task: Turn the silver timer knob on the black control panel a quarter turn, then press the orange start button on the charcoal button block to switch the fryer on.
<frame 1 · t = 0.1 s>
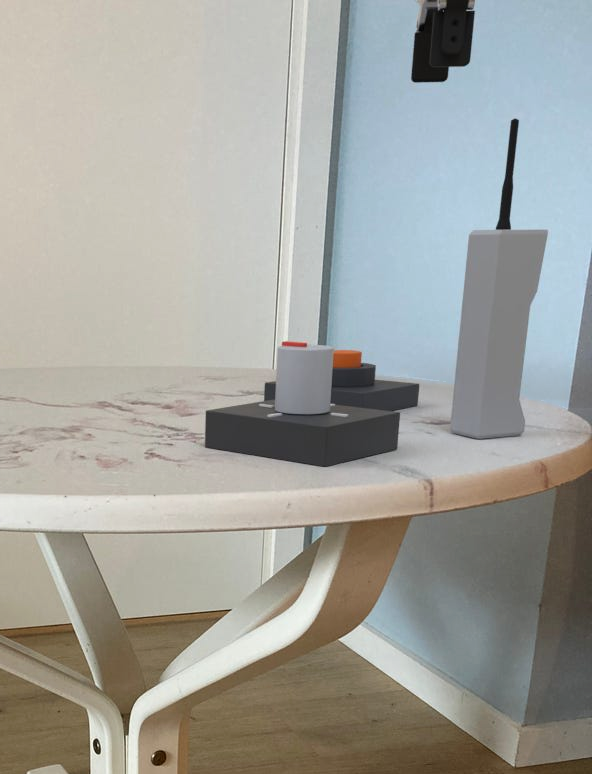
hand: (438, 74, 96), 29 cm above the table, tool pointing down, fingers open, 9 cm apart
start button: (343, 360, 112), point 4 cm above the table, slide at 0.1 cm
timer knob: (303, 377, 88), point 6 cm above the table, hinge at 0.0°
vintage mobile phone: (486, 436, 96), on the table
timer panel: (300, 448, 90), on the table
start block: (340, 404, 113), on the table
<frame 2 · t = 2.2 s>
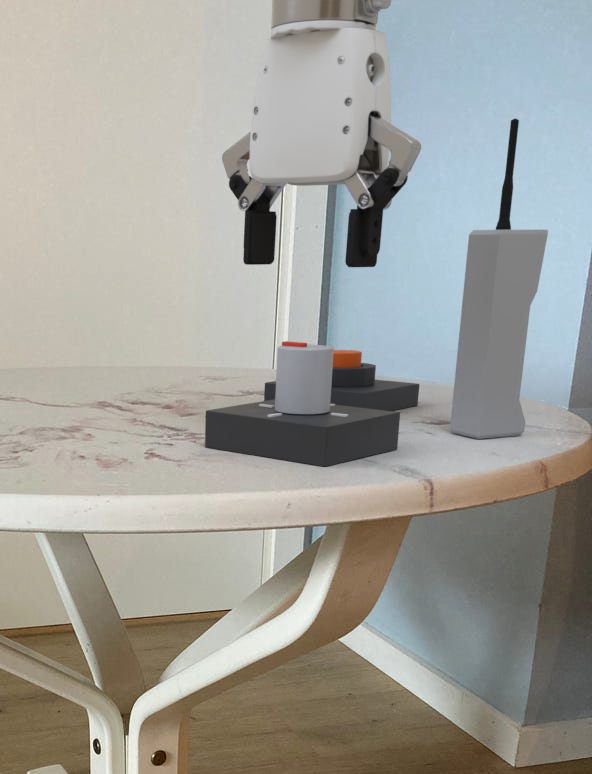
hand: (307, 265, 86), 14 cm above the table, tool pointing down, fingers open, 9 cm apart
nothing on the table moved.
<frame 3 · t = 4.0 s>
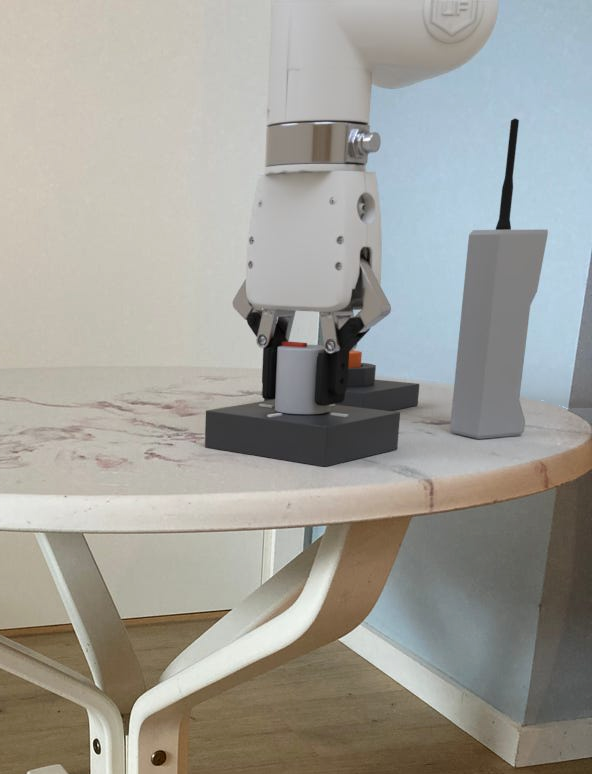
hand: (302, 398, 89), 4 cm above the table, tool pointing down, fingers closed on timer knob, 4 cm apart
timer knob: (303, 377, 88), point 6 cm above the table, hinge at -0.1°, touching gripper
everything else where it was.
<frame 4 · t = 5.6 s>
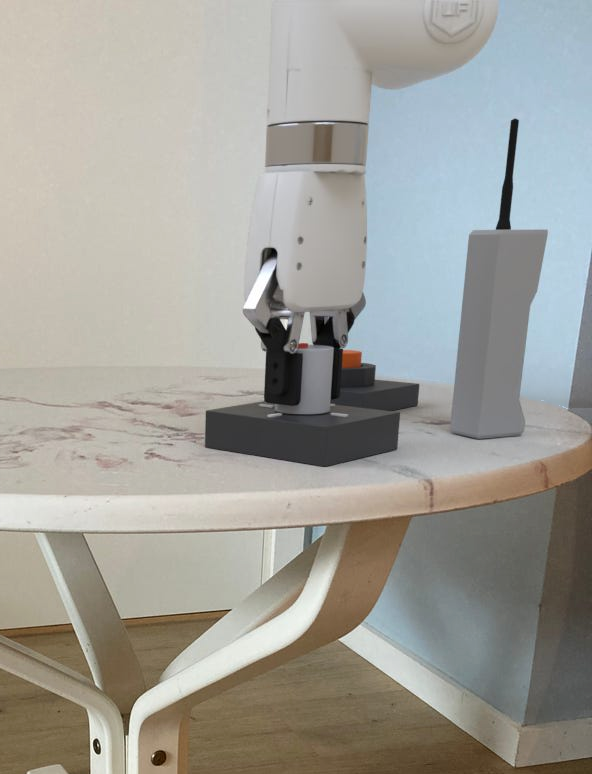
hand: (302, 398, 89), 4 cm above the table, tool pointing down, fingers closed on timer knob, 4 cm apart
timer knob: (303, 377, 88), point 6 cm above the table, hinge at 90.5°, touching gripper
everything else where it was.
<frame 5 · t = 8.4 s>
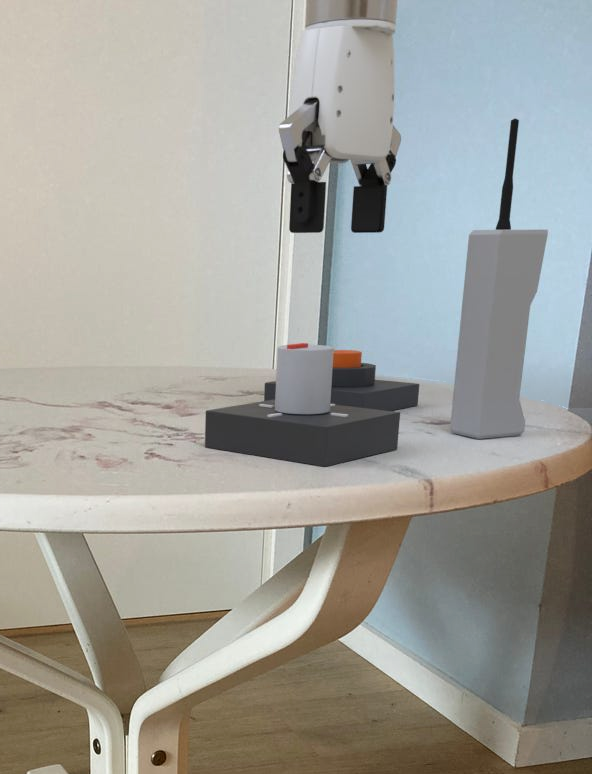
hand: (337, 232, 98), 17 cm above the table, tool pointing down, fingers open, 9 cm apart
timer knob: (303, 377, 88), point 6 cm above the table, hinge at 91.6°
everything else where it was.
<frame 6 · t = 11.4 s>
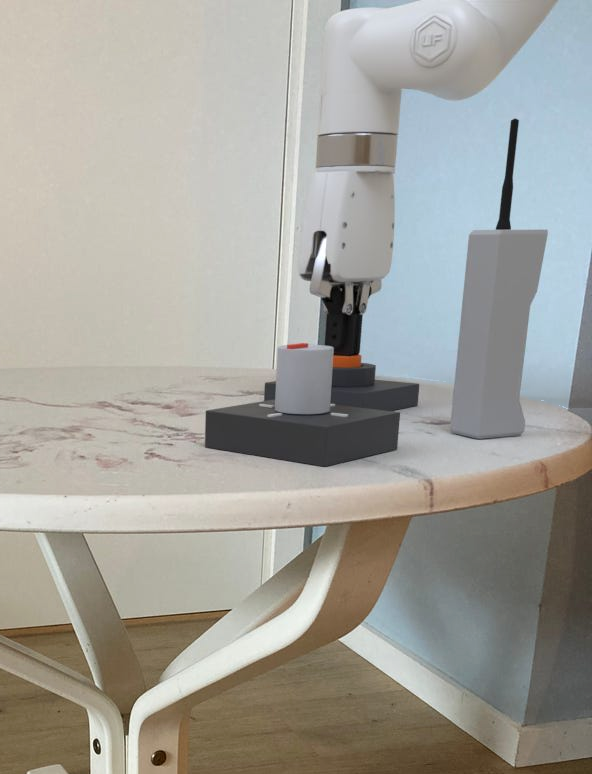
hand: (341, 354, 112), 5 cm above the table, tool pointing down, fingers closed
start button: (342, 363, 112), point 4 cm above the table, slide at -0.3 cm, touching gripper
everything else where it was.
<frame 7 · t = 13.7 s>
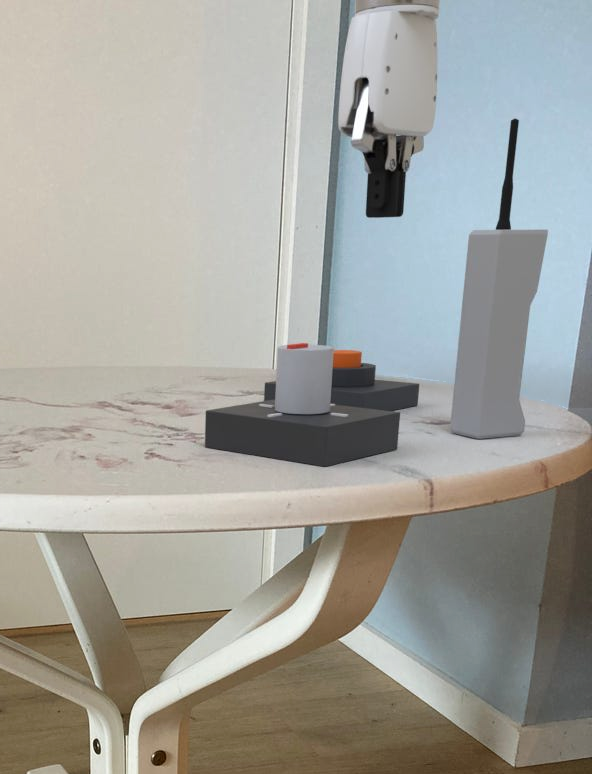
hand: (384, 216, 107), 18 cm above the table, tool pointing down, fingers closed
start button: (343, 360, 112), point 4 cm above the table, slide at 0.1 cm
everything else where it was.
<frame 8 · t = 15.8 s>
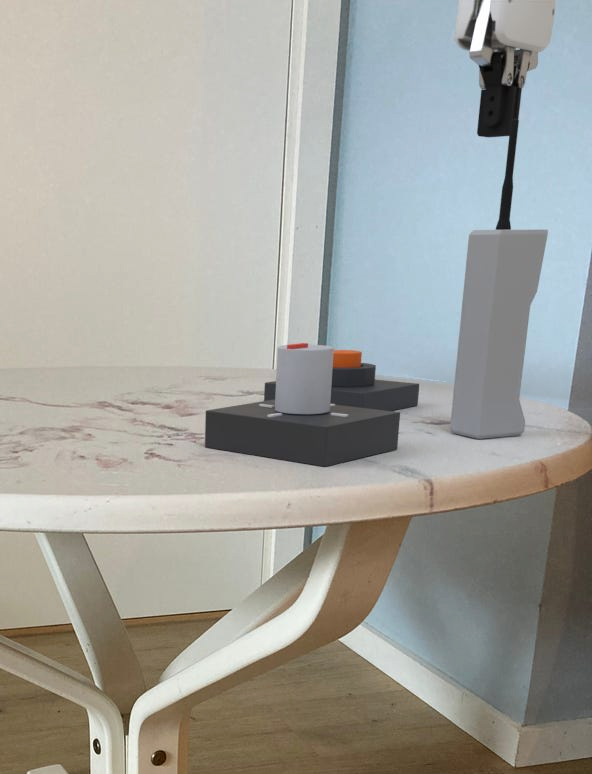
hand: (496, 135, 103), 25 cm above the table, tool pointing down, fingers closed
nothing on the table moved.
at the end: timer knob at +92° (first picture: +0°); start button pushed in 1.1 cm at the most during the clip, back to where it started at the end; start button slide at 0.1 cm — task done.
